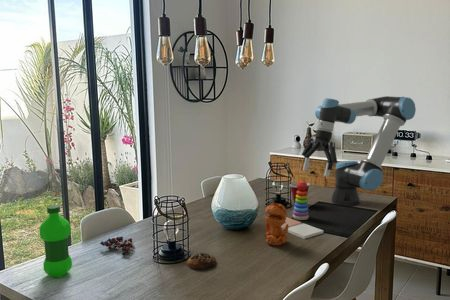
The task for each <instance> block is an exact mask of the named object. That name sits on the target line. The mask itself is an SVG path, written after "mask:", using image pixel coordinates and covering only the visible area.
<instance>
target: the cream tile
mask: <svg viewBox="0 0 450 300" xmlns="http://www.w3.org/2000/svg"><path fill="white" fill-rule="evenodd" d="M288 233H289V234H291V235H293V236H296V237H298V238H301V239H303V240H305V239H309V238H312V237H315V236H318V235H321V234H324V230H323V229H320V228H317V227H314V226H312V225H309V224H307V223H302V224H300V225H296V226H293V227H289V228H288V232H287V234H288Z"/></svg>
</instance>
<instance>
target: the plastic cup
mask: <svg viewBox="0 0 450 300" xmlns="http://www.w3.org/2000/svg"><path fill="white" fill-rule="evenodd" d="M306 183H307V182H306ZM297 184H298V182H294V183H289V187H290V189H291V190H290V191H291V196H292V200H293V204H294V207H295V202H296V201H295V199H296V195H297V191H298V189H297ZM310 185H311V184H310V183H307V189H306V190H305V191H307V194H306V195H307V196H308V192H309V187H310Z"/></svg>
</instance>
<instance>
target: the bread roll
mask: <svg viewBox="0 0 450 300" xmlns="http://www.w3.org/2000/svg"><path fill="white" fill-rule="evenodd" d="M186 263H187V266H188V267H190V268H191V269H194V270H198V271H199V270H201V269H205V270H210V269H209V268H211V269H213V268H214V267H215V266H216V264H217V259H216V256H215V255H213V254H210V253H207V252H199V253H196V254H193V255H192V256H190V257H189V258H188V259H187V261H186ZM212 267H213V268H212Z"/></svg>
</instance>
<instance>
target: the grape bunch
mask: <svg viewBox="0 0 450 300" xmlns="http://www.w3.org/2000/svg"><path fill="white" fill-rule="evenodd" d="M99 244H100V245H101V246H103V247H104V246H105V247H107V248H108V249H109V250H111V249H113V250H121V251H122V252H121V253H122V254H121V256H126V255H127V253H129V254H133V253H134V251H132V250H133V249H136V245H134V242H133V238H132V237H131V238H128V239H127V238H126V239H124V237H123V236H117V237H116V238H115V237H112V238H110V237H109V238H108V239H107V240H105V241H103V240H102V241H101V242H99Z"/></svg>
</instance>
